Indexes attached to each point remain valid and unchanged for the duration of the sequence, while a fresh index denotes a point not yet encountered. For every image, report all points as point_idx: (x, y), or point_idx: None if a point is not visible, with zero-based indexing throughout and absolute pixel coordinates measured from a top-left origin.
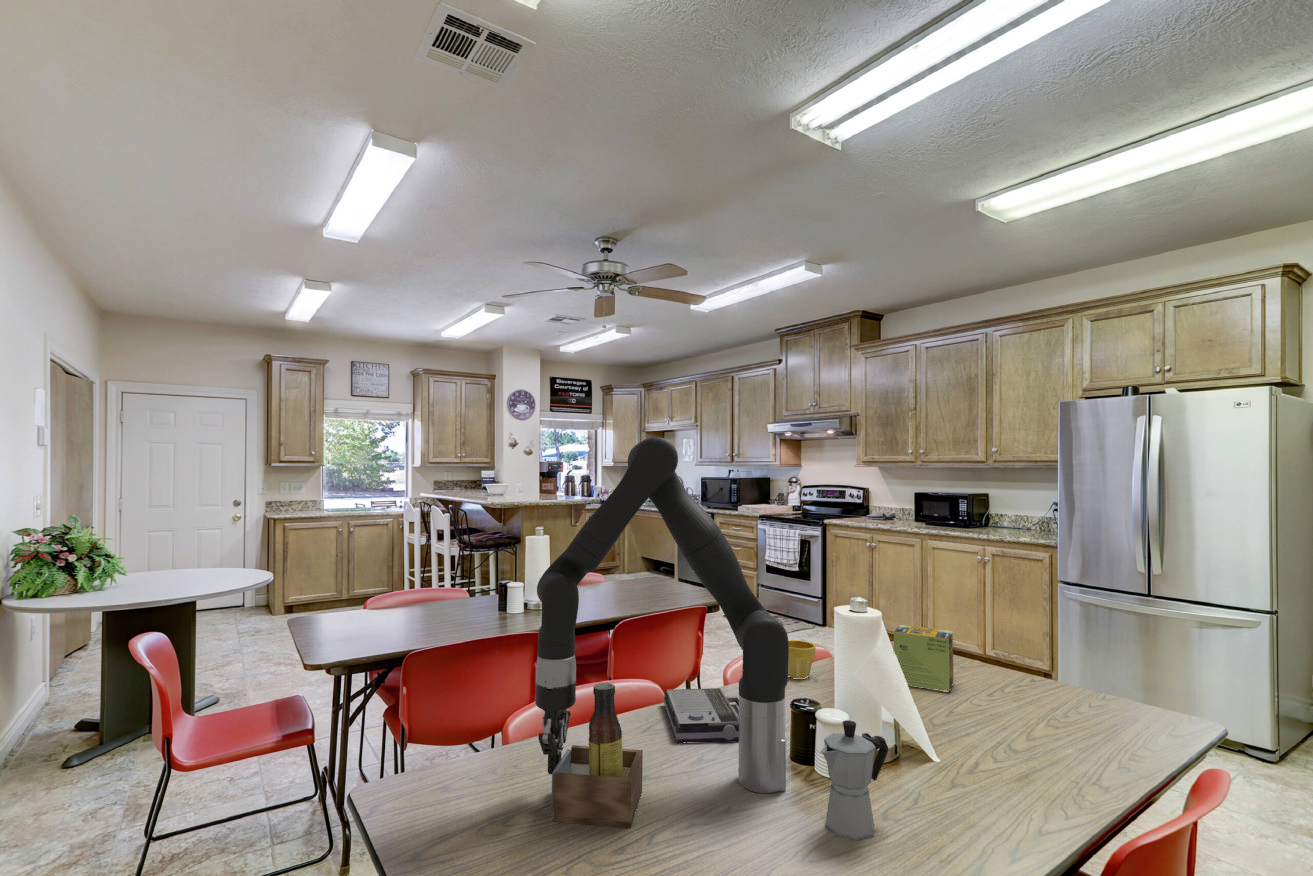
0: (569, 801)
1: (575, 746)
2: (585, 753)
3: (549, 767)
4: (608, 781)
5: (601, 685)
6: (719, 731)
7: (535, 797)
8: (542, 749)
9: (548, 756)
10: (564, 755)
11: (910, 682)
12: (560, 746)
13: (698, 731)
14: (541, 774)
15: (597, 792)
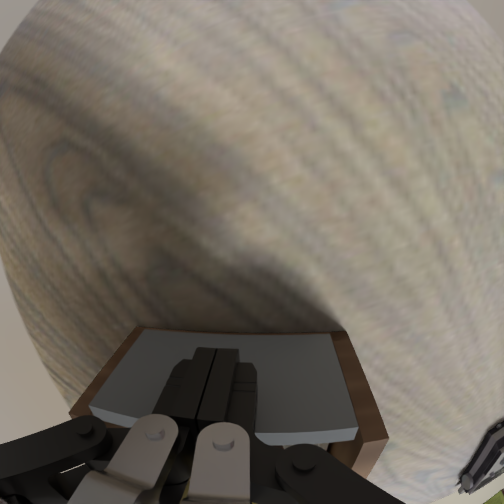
0: None
1: (371, 451)
2: (344, 460)
3: (171, 378)
4: None
5: None
6: (474, 475)
7: (257, 231)
8: (33, 437)
9: (174, 406)
10: (279, 436)
11: (492, 500)
12: (185, 495)
13: (484, 462)
14: (424, 199)
15: None
